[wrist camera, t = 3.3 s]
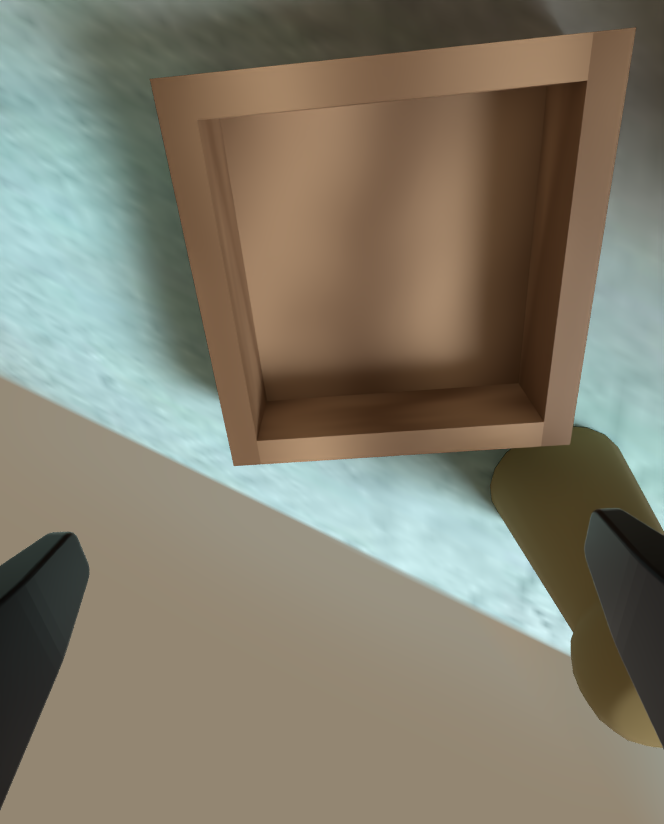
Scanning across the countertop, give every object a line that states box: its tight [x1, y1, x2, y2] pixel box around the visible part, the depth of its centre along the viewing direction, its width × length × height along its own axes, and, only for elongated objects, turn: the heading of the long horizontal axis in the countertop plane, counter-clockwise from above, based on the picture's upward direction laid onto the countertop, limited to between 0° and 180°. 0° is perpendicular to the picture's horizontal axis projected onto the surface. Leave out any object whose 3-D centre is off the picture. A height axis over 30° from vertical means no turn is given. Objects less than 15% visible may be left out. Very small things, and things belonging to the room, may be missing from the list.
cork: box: [490, 427, 664, 748], centre depth 20 cm, size 6×6×11 cm
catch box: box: [150, 27, 636, 466], centre depth 18 cm, size 12×12×4 cm
